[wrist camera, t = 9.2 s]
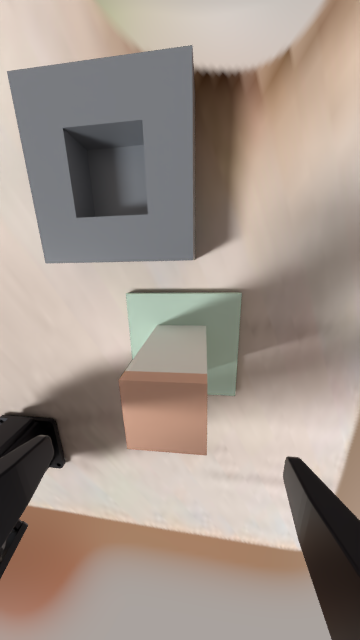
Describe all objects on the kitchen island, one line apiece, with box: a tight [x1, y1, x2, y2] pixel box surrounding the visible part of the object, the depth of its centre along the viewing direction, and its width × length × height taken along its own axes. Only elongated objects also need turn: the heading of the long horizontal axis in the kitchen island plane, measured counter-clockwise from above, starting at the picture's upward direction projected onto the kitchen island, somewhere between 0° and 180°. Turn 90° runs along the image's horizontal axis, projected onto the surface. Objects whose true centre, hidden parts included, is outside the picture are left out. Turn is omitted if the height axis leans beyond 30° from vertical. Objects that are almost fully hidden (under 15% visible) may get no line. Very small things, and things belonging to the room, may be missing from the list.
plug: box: [118, 325, 207, 455], centre depth 13 cm, size 4×4×8 cm
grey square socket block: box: [7, 45, 195, 263], centre depth 13 cm, size 10×10×3 cm
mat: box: [126, 292, 242, 396], centre depth 18 cm, size 9×9×1 cm
